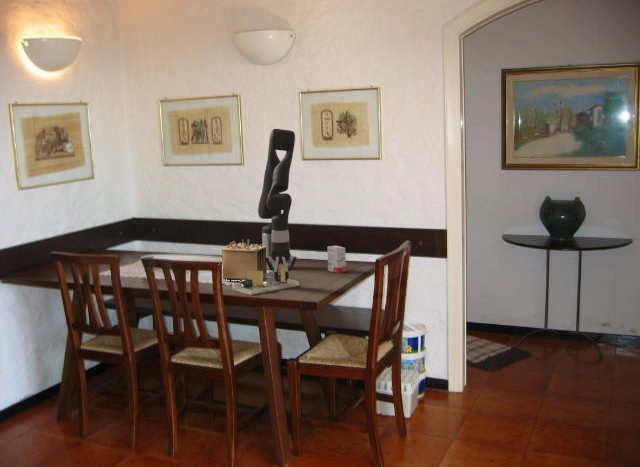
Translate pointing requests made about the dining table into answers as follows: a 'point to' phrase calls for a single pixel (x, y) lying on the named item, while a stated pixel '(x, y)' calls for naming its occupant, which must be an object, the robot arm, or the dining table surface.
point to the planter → (243, 260)
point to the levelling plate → (266, 286)
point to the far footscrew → (281, 274)
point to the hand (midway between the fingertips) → (281, 279)
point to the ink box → (336, 259)
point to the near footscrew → (253, 278)
